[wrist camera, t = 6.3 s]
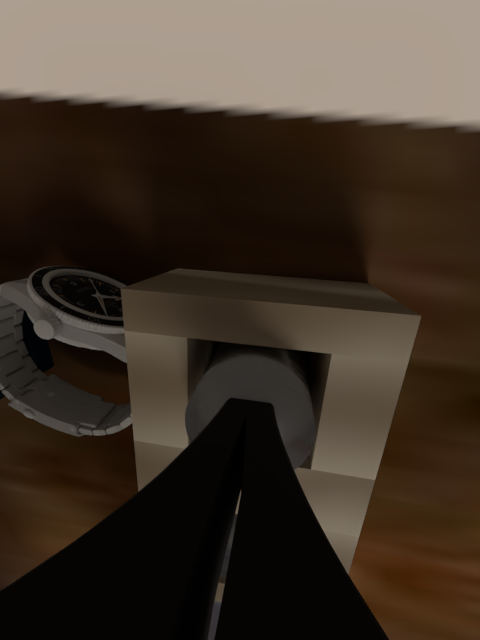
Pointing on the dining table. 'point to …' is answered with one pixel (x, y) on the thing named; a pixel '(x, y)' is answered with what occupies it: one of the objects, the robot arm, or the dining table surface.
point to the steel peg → (258, 392)
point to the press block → (279, 332)
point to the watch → (69, 327)
